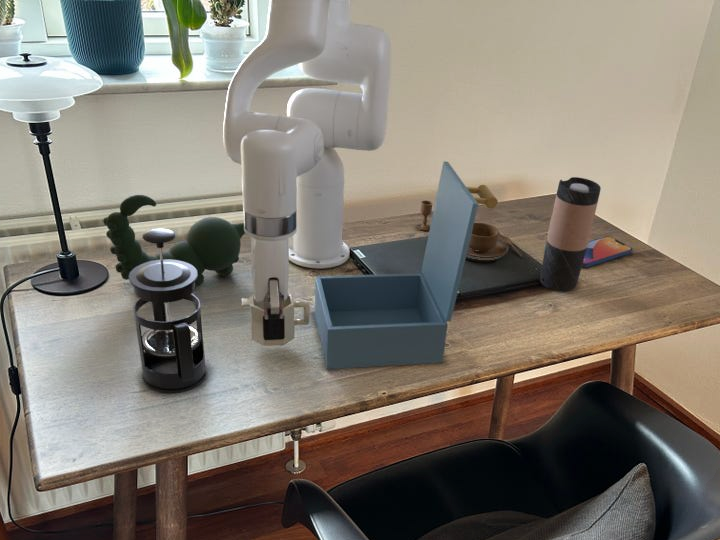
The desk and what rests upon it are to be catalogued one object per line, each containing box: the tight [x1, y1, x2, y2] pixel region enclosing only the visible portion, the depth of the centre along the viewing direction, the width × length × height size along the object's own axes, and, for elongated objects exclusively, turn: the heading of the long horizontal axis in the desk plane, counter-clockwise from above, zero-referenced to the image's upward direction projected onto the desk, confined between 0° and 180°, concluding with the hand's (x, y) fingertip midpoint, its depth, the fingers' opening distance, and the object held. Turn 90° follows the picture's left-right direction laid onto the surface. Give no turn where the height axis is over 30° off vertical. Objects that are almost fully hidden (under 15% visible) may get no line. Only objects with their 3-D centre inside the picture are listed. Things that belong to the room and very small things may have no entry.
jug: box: [241, 293, 310, 347], centre depth 115 cm, size 10×7×6 cm, turn 102°
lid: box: [421, 160, 499, 323], centre depth 116 cm, size 19×17×6 cm
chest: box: [314, 272, 449, 370], centre depth 121 cm, size 19×17×7 cm
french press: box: [128, 228, 208, 394], centre depth 103 cm, size 12×9×23 cm
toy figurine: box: [102, 194, 246, 287], centre depth 128 cm, size 9×19×25 cm
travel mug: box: [539, 176, 602, 292], centre depth 138 cm, size 8×8×20 cm
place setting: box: [417, 199, 523, 263], centre depth 154 cm, size 18×20×6 cm
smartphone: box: [582, 235, 633, 268], centre depth 155 cm, size 7×15×1 cm, turn 124°
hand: (272, 325), depth 116 cm, fingers closed on jug, 6 cm apart
